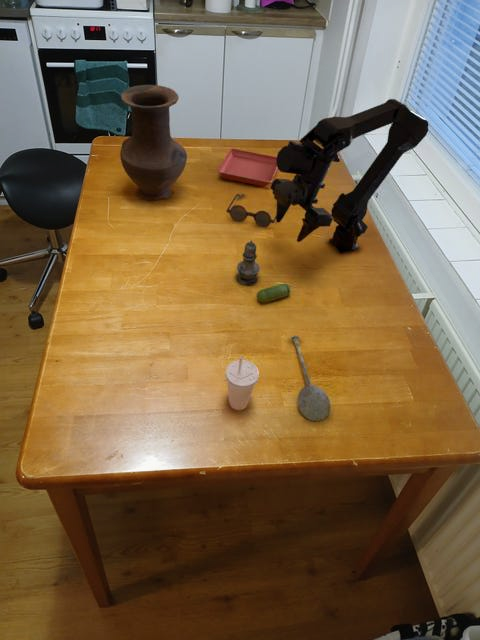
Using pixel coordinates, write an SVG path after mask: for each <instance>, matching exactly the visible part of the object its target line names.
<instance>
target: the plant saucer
mask: <svg viewBox="0 0 480 640" xmlns="http://www.w3.org/2000/svg"><path fill="white" fill-rule="evenodd" d="M277 169H278V167H277V156H273V155H268V154H263V153H259V152H253V151H249V150H243V149H238V148H230V149H229V150H228V152H227V153H226V155H225V157H224V159H223V161H222V162H221V164H220V166H219V168H218V170H217V173H219V175H220V176H221V177H222V178H223V179H224V180H231V181H235V182H239V183H246V184H251V185H254V186H259V187H267V186H269V185H270V184H272V182H273V181H274V177H275V175H276V172H277Z"/></svg>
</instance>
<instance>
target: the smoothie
mask: <svg viewBox="0 0 480 640" xmlns="http://www.w3.org/2000/svg"><path fill="white" fill-rule="evenodd" d="M243 358H244V357H243V356H239V359H238V360H237V359H236V360H234V361H232V362H230V363H229V364H228V365H227V367H226V368H225V373H224V377H225V380H226V383H227V392H228V401H229V406H230V407H231V408H232V409H233V410H236V411H242V410H244V409H246V408H247V406H248V404H249V402H250V398H251V396H252V393H253V390H254V388H255V386H256V384H257V383H258V381H259V378H260V377H259V376H260V373H259V369H258V366H256V365H255V364H254V363H253V362H251V361H249V360H245V359H243Z"/></svg>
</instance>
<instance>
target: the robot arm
mask: <svg viewBox="0 0 480 640" xmlns="http://www.w3.org/2000/svg"><path fill="white" fill-rule="evenodd" d="M388 125H390V127H389V128H388V133H387V141H386V143H385V144H384V146H383V147H382V149H381V150H380V151H379V153H378V155H376V157H375V158H374V160H373V162H372V163H371V164H370V166H369V167H368V168H367V170H366V172H364V174H363V175H362V177H361V178H360V179H359V181H358V182H357V184H356V185H355V187H354V188H353V190H352V191H349V192H348V193H346V194H345V193H344V192H342V193H340V194H339V195H338V197H337V199H336V201H335V202H334V203H333V204H332V208H331V210H330V212H331V213H330V212H329V211H328V210H326V209H325V208H324V207H315V206H314V204H316V205H317V204H318V203H319V199H318V198H317V196H318V194H319V192H320V189H323V190H324V189H325V186H326V184H325V183H324V181H325V179H326V177H327V174H328V172H329V170H330V168H331V166H332V163H333V162H334V163H340V161H341V159H340V156H339V154H338V153H339V152H341V151H343V150H345V149H346V148H348V147H350V146H351V144H352V143H353V141H354V140H355V139H357V138H359V137H361V136H363V135H366V134H368V133H371V132H373V131H376V130H379V129H381V128H383V127H387V126H388ZM428 133H429V121H428V120H427V119H426V118H423V117H422V116H421V115H418V114H416V113H415V112H414V111H411V109H409V108H408V106H407V105H406V104H404V103H403V102H401V101H399V100H398V99H395V98H389V99H387V100H386V101H385V102H383V103H381V104H378V105H376V106H373V107H371V108H368V109H365V110H363V111H360V112H357V113H354V114H352V115H350V116H330V117H326V118H322V119H321V120H319V121H318V122H317V123H316V125H315V126H314V127H313V128H311V130H309V131H308V132H307V133H306V134H305V135H304V136H302V137H301V138H300V140H299V142H296V141H294V140H290V141H288V144H287V145H285V146H282V147H281V148H280V150H278V152H277V156H276V157H277V169H278V171H279V172H281V173H286V174H293V175H294V177H293V179H292V180H291V179H287V178H275V179H273V180H272V182H271V185H270V186H269V189H270V190H272V191H271V193H272V195H273V199H274V200H276V213H275V216H276V220H275V223H281V221H282V220H283V219H284V217H285V216H286V214H287V212H288V210H289V208H290V207H291V206H293V207H295V206H299V207H301V208H302V209H303V210H304V211H305V212H304V217H303V218H301V221H302V226H301V228H300V231H299V233H298V235H297V238H296V242H297V243H300V242H302V241H303V240H305V239H306V238H307V237H309V236H310V235H311V234H312V233H313V232H314V231H315V230H317V229H319V228H321V227H322V228H324V227H330V226H331V225H332V223H333V222H334V223H336V226H335V230H334V231H333V234H332V238H329V239H328V243H330V244H331V245H332V246H333V247H334V248H335V249H336V250H337V252H339V253H340V254H346V253H348V252H352V251H356V250H357V251H358V250H359V249H360V246H359V245H358V244H357V242H358V239H359V237H361V236H362V235H364V234H365V233H366V231H367V230H368V228H369V227H368V225H367V224H366V222H364V221H363V220H364V218H365V217H366V215H367V211H368V204H369V201H370V200H371V198H372V197H373V195H374V194H375V193H376V191H378V189H379V187H380V186H381V185H382V183H383V182H384V180H385V179H386V178H387V176H388V175H389V173H391V171H392V170H393V168H394V167H395V165H396V164H397V163H398V162H399V160H400V159H401V157H402V156H403V155H404V154H406V153H407V152H409V151H411V150H413V149H415V148H416V147H417V146H418V145H420V143H421V142H422V141H423V140H424V139H425V137H426V136H427V134H428Z"/></svg>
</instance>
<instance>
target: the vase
mask: <svg viewBox="0 0 480 640" xmlns="http://www.w3.org/2000/svg"><path fill="white" fill-rule="evenodd" d="M120 98H121V101H122V103H123V104H124V105H126V106H129V107H130V109H131V121H132V135H130V136H129V137H127V138H126V139H125V140H123V142H122V144H121V148H120V152H119V157H120V162H121V166H122V168H123V170H124V172H125V173H126V175H127V176H128V177H129V178H130V180H131V181H132V182H133V183H134V184H135V185H136V186H137V187H138V188H139V189H138V195H139V196H140V197H141V198H142V199H144V200H146V201H151V202H153V201H158V200H162V199H167V198H169V197H170V196H171V194H172V191H171V189H170V188H171V186H173V185H174V184H175V182H176V181H177V180H178V179H179V178H180V177H181V175H182V174H183V173H184V170H185V167H186V165H187V161H188V153H187V150H186V149H185V147H184V146H183V145H182V144H181V143H179V142H177V141H176V140H174V139H173V138H172V135H171V125H170V122H171V121H170V119H171V117H170V107H172V106H174V105H176V104H177V103H178V101H179V94H178V92H176V91H175V90H174V89H172V88H170V87H167V86H164V85H159V84H141V85H134V86H130V87H128V88H126V89H124V90H123V91H122V93H121V95H120Z"/></svg>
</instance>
